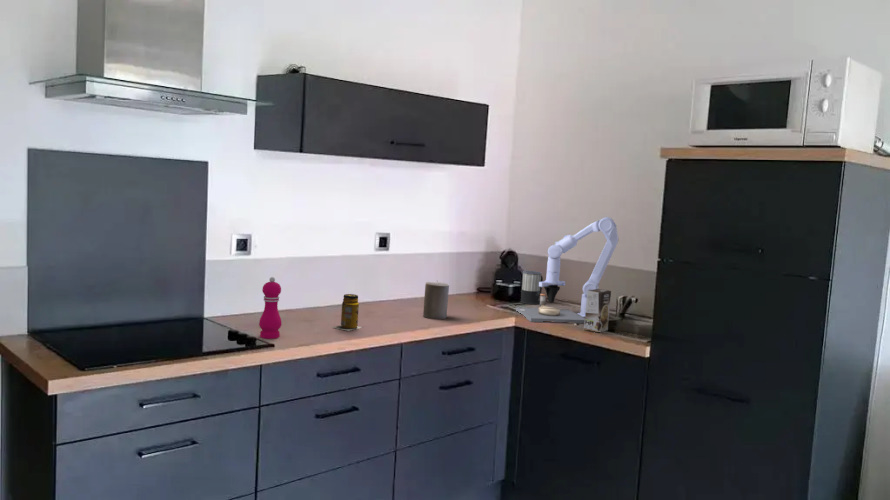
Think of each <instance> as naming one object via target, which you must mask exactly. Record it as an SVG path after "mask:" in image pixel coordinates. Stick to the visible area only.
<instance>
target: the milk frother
mask: <svg viewBox="0 0 890 500" xmlns="http://www.w3.org/2000/svg"><path fill="white" fill-rule="evenodd" d="M542 274H543V272H542V271H536V270H535V271H534V270H523V271H522V284H521V286H522V287H521V292H522V295H521V296H520V297H521V299H520V300H519V301H520V303H521V304H525V305H540V294H542V289H543V287H540V286H539V282H543V281H544V278H543V275H542Z"/></svg>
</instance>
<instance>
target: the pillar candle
mask: <svg viewBox="0 0 890 500" xmlns="http://www.w3.org/2000/svg"><path fill="white" fill-rule="evenodd" d="M449 290H450V284H449V283H445V282H441V281H438V280H436V281H427V282H425V285H424V297H423V298H424V299H423V309H422V310H423V313H422V317H424V318H427V319H432V320H445V319H447V316H448V304H449V303H448V302H449V292H450V291H449Z"/></svg>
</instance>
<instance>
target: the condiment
mask: <svg viewBox="0 0 890 500" xmlns="http://www.w3.org/2000/svg"><path fill="white" fill-rule="evenodd" d="M359 304H360V303H359V295H358V294H353V293H346V294H344V295H343V299H342V303H341V314H340V318H341V319H340V325H337V326H332V328H334V329H338V330H343V331H347V332H350V331H352V330H353V331H354V330H358V329H362V328H363V327H362V326H358V324H359V323H358V322H359V306H360V305H359Z"/></svg>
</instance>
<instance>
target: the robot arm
mask: <svg viewBox="0 0 890 500" xmlns="http://www.w3.org/2000/svg"><path fill="white" fill-rule="evenodd" d="M598 232H601V233H602V234H603V236H604V237H605V240H606V242H605V244H604V246H603V249H602V251H601V253H600V255H599V257H598V260H597V262H596V264H595V266H594V268H593V270H592V272H591V275H590V277H589V279H587V280H586V282H585V283H584V284H583V285H582V294H581V301H580V312H577V313H576V314H577V315H579V316H581V317H582V318H585V313H586V302H587V292H588V290H594V289H599V288H600V286H599V285H600V282H601V279H602V277H603V275H604V273H605V271H606V269H607V266H608V265H609V262H610V261H611V258H612V255H613V253H614V251H615V249H616V247H617V245H618V242H619V235H618V228H617V225H616V222H615V220H614V219H613V217H612V218H611V217H610V216H605V217H603V218H601V219H598V220H596V221H594V222H592V223H590V224H588V225H587V226H585V227H584V228H582V229H581V230H579V231H578V232H576V233H575V234H568V235H567V234H566V235H564V236H563V237H562V238H561V239H560V240H558V241H555V242H554V244H551V245H550V246H549V247H548V249H547V254H548V257H547V261H546V262H547V264H546V275H545V277H546V278H545V280H543V282H539V286H540V287H542V288H543V289H544V291H545V292H546V293H545V294H547V295H546V298H547V302H548V303H550V304H551V303H554V302H555V298H556V296H557V294H558V292H559V291H560V290H561V286H566V281H564V280H560V273H561V256H562V254H565V253H567V252H569V251H571V250H572V249H573V248H575V247H576V246H577V244H578V241H580V240H582V239H583V238H585V237H587V236H588V235H590V234H592V233H598Z"/></svg>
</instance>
